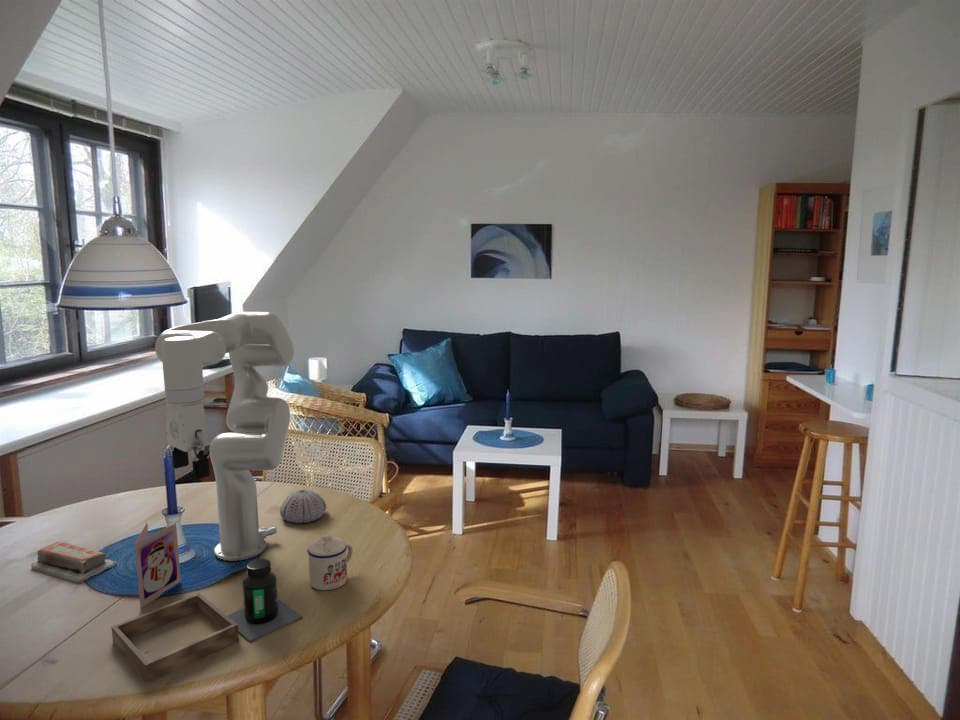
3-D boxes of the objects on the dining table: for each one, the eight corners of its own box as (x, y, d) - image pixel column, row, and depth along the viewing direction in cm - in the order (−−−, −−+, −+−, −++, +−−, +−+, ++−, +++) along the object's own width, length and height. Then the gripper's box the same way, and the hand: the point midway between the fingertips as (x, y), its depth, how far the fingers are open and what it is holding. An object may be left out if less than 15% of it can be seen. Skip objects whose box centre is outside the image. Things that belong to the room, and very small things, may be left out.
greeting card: (143, 608, 142) (137, 544, 139) (118, 602, 145) (111, 539, 142) (183, 583, 153) (178, 523, 150) (159, 577, 155) (154, 518, 153)
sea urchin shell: (302, 530, 182) (301, 503, 180) (269, 519, 189) (268, 493, 187) (336, 514, 193) (335, 488, 191) (304, 504, 200) (302, 479, 198)
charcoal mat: (273, 597, 147) (273, 595, 147) (302, 617, 139) (302, 616, 139) (222, 619, 138) (222, 617, 138) (250, 642, 130) (249, 640, 130)
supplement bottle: (265, 627, 134) (262, 573, 132) (237, 621, 137) (234, 568, 134) (285, 610, 141) (282, 558, 139) (258, 605, 143) (255, 554, 141)
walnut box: (200, 607, 143) (199, 592, 142) (239, 640, 131) (238, 624, 130) (113, 642, 130) (111, 626, 129) (147, 682, 118) (145, 665, 117)
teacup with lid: (326, 595, 148) (324, 548, 146) (300, 583, 153) (298, 537, 151) (365, 574, 157) (363, 529, 155) (339, 563, 162) (338, 520, 160)
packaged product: (27, 552, 159) (66, 535, 168) (29, 570, 159) (68, 553, 168) (78, 566, 152) (116, 548, 161) (80, 585, 152) (118, 566, 162)
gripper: (149, 391, 140) (156, 467, 143) (185, 405, 129) (192, 487, 132) (184, 385, 146) (190, 458, 149) (221, 398, 134) (227, 477, 137)
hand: (191, 472), depth 140 cm, fingers open, 9 cm apart
